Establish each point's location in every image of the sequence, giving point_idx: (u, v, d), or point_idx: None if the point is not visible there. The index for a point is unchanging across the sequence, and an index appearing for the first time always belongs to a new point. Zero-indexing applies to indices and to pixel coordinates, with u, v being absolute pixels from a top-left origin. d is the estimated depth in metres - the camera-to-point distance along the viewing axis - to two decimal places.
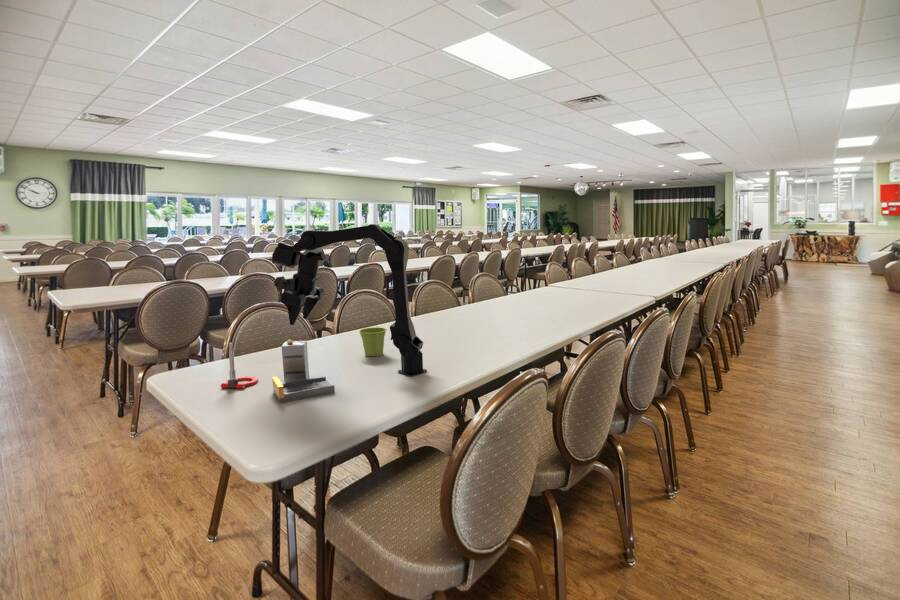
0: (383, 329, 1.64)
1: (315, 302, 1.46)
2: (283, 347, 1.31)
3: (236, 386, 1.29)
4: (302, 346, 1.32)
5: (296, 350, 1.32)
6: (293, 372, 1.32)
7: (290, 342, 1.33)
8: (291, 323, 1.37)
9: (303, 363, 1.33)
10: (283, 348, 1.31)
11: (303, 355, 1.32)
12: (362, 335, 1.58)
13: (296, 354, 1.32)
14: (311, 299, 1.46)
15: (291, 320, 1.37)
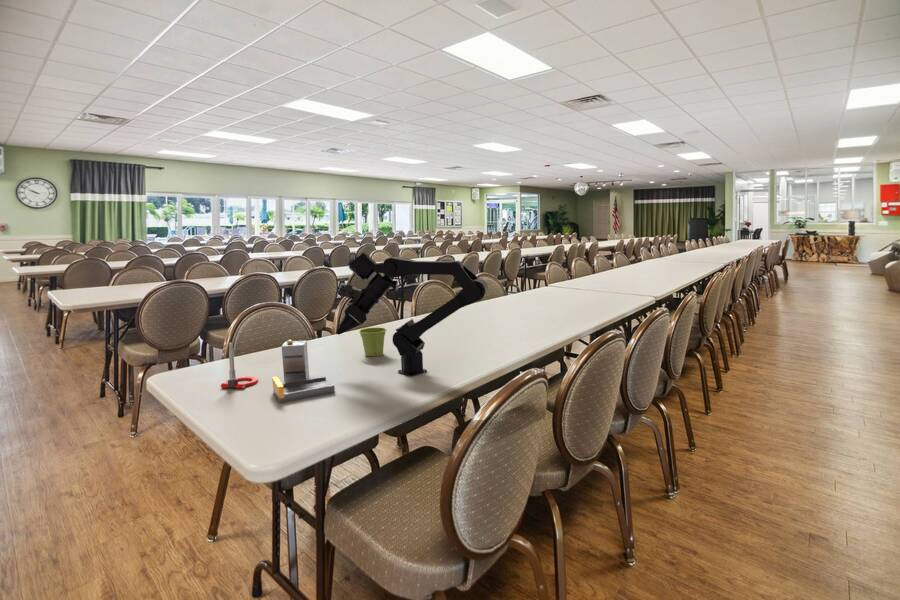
0: (383, 329, 1.64)
1: None
2: (283, 347, 1.31)
3: (236, 386, 1.29)
4: (302, 346, 1.32)
5: (296, 350, 1.32)
6: (293, 372, 1.32)
7: (290, 342, 1.33)
8: (338, 332, 1.34)
9: (303, 363, 1.32)
10: (283, 348, 1.31)
11: (303, 355, 1.32)
12: (362, 335, 1.58)
13: (296, 354, 1.32)
14: None
15: (340, 329, 1.34)
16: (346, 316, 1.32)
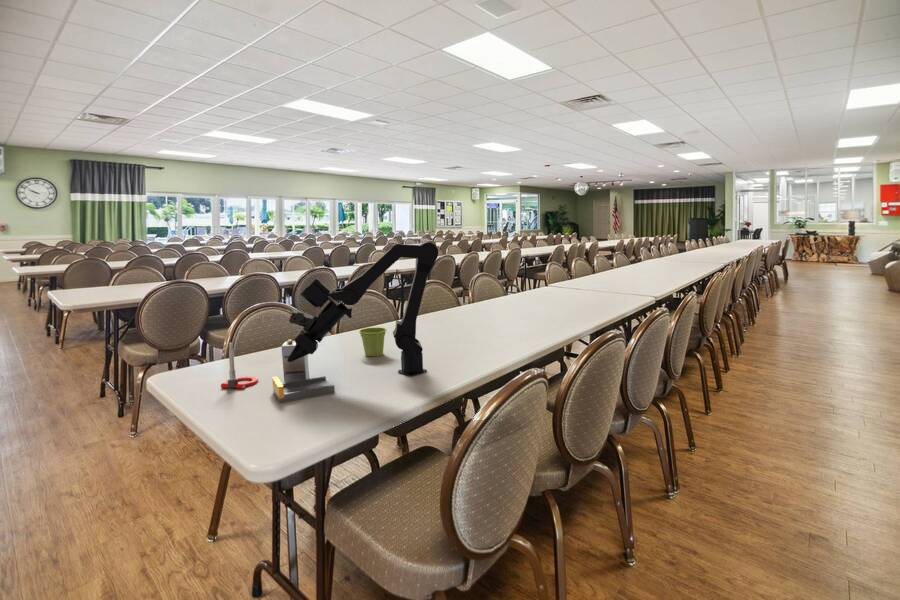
0: (383, 329, 1.64)
1: None
2: (283, 347, 1.31)
3: (236, 386, 1.29)
4: None
5: None
6: (293, 371, 1.32)
7: (290, 342, 1.33)
8: (289, 360, 1.31)
9: (303, 363, 1.32)
10: (283, 348, 1.31)
11: None
12: (362, 335, 1.58)
13: None
14: None
15: (291, 357, 1.31)
16: (297, 344, 1.29)
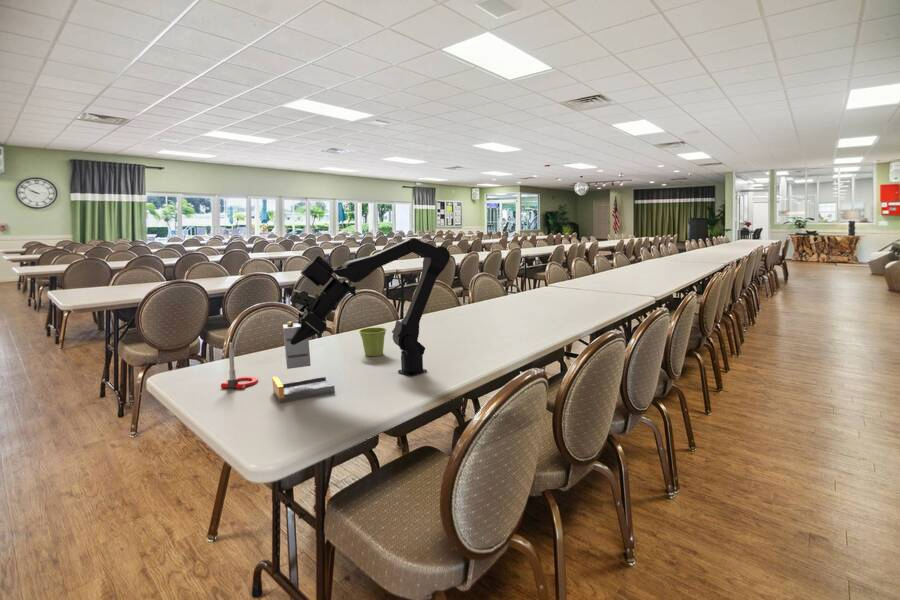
0: (383, 329, 1.64)
1: None
2: (285, 329, 1.23)
3: (236, 386, 1.29)
4: None
5: None
6: (297, 355, 1.25)
7: (291, 324, 1.25)
8: (292, 342, 1.24)
9: (307, 345, 1.26)
10: (285, 330, 1.23)
11: None
12: (362, 335, 1.58)
13: None
14: None
15: (295, 339, 1.23)
16: (302, 325, 1.22)
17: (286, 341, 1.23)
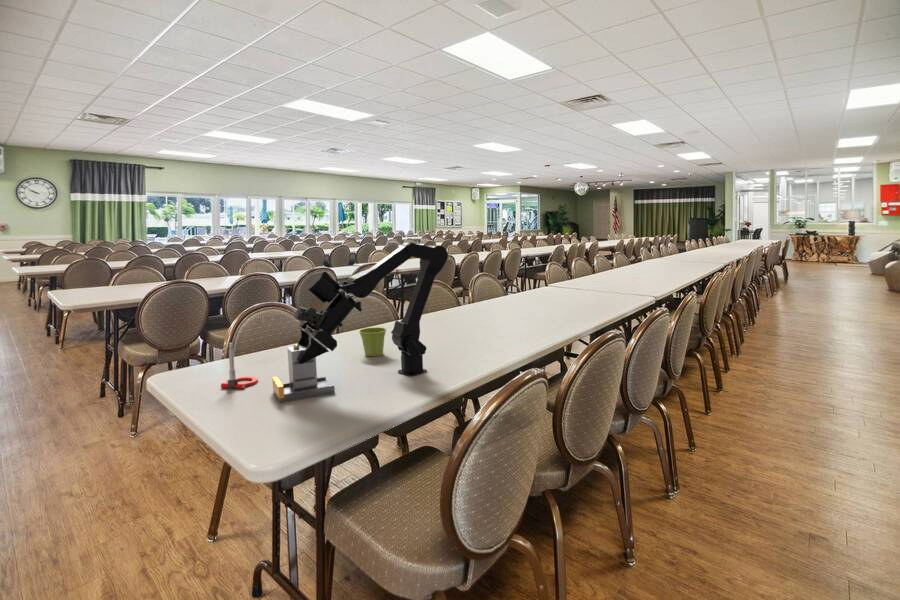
0: (383, 329, 1.64)
1: None
2: (293, 352, 1.20)
3: (236, 386, 1.29)
4: None
5: None
6: (304, 378, 1.22)
7: (297, 347, 1.22)
8: (300, 361, 1.20)
9: (314, 368, 1.23)
10: (293, 353, 1.20)
11: (314, 359, 1.23)
12: (362, 335, 1.58)
13: None
14: None
15: (303, 358, 1.19)
16: (312, 343, 1.19)
17: (294, 364, 1.20)
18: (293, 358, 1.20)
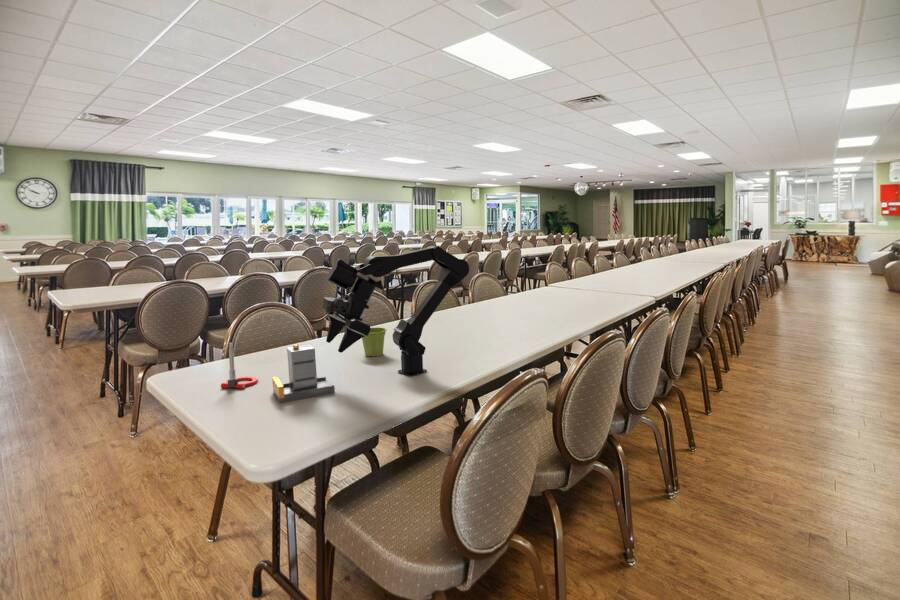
0: (383, 329, 1.64)
1: (343, 326, 1.36)
2: (293, 353, 1.20)
3: (236, 386, 1.29)
4: (313, 350, 1.22)
5: (307, 355, 1.22)
6: (304, 378, 1.22)
7: (297, 347, 1.22)
8: (340, 350, 1.26)
9: (314, 368, 1.23)
10: (293, 354, 1.20)
11: (314, 359, 1.23)
12: None
13: (307, 359, 1.22)
14: (340, 322, 1.35)
15: (342, 347, 1.26)
16: (347, 332, 1.24)
17: (293, 365, 1.20)
18: (293, 358, 1.20)
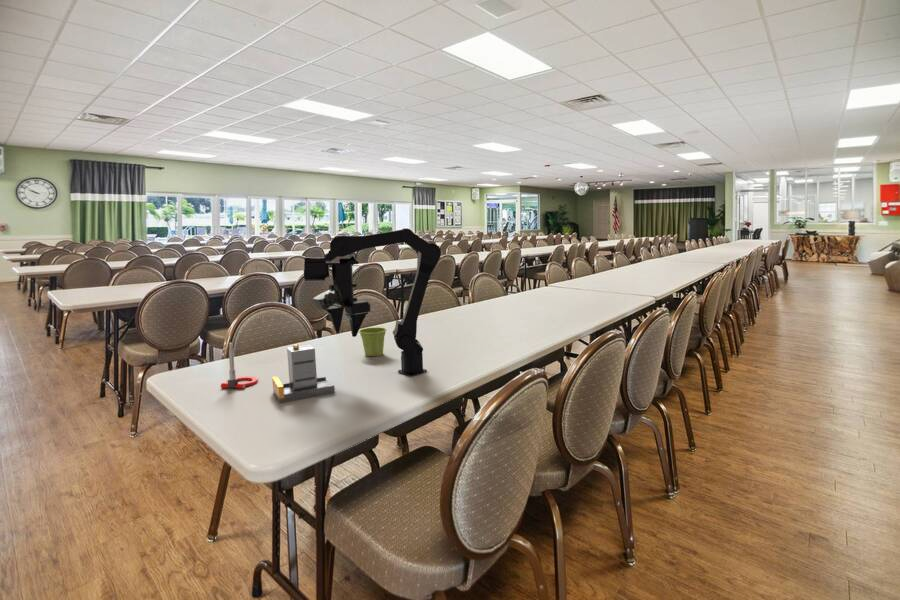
0: (383, 329, 1.64)
1: (342, 311, 1.39)
2: (293, 353, 1.20)
3: (236, 386, 1.29)
4: (313, 350, 1.22)
5: (307, 355, 1.22)
6: (304, 378, 1.22)
7: (297, 347, 1.22)
8: (354, 335, 1.31)
9: (314, 368, 1.23)
10: (293, 354, 1.20)
11: (314, 359, 1.23)
12: (362, 335, 1.58)
13: (307, 359, 1.22)
14: (337, 309, 1.38)
15: (354, 331, 1.31)
16: (352, 317, 1.28)
17: (293, 365, 1.20)
18: (293, 358, 1.20)
